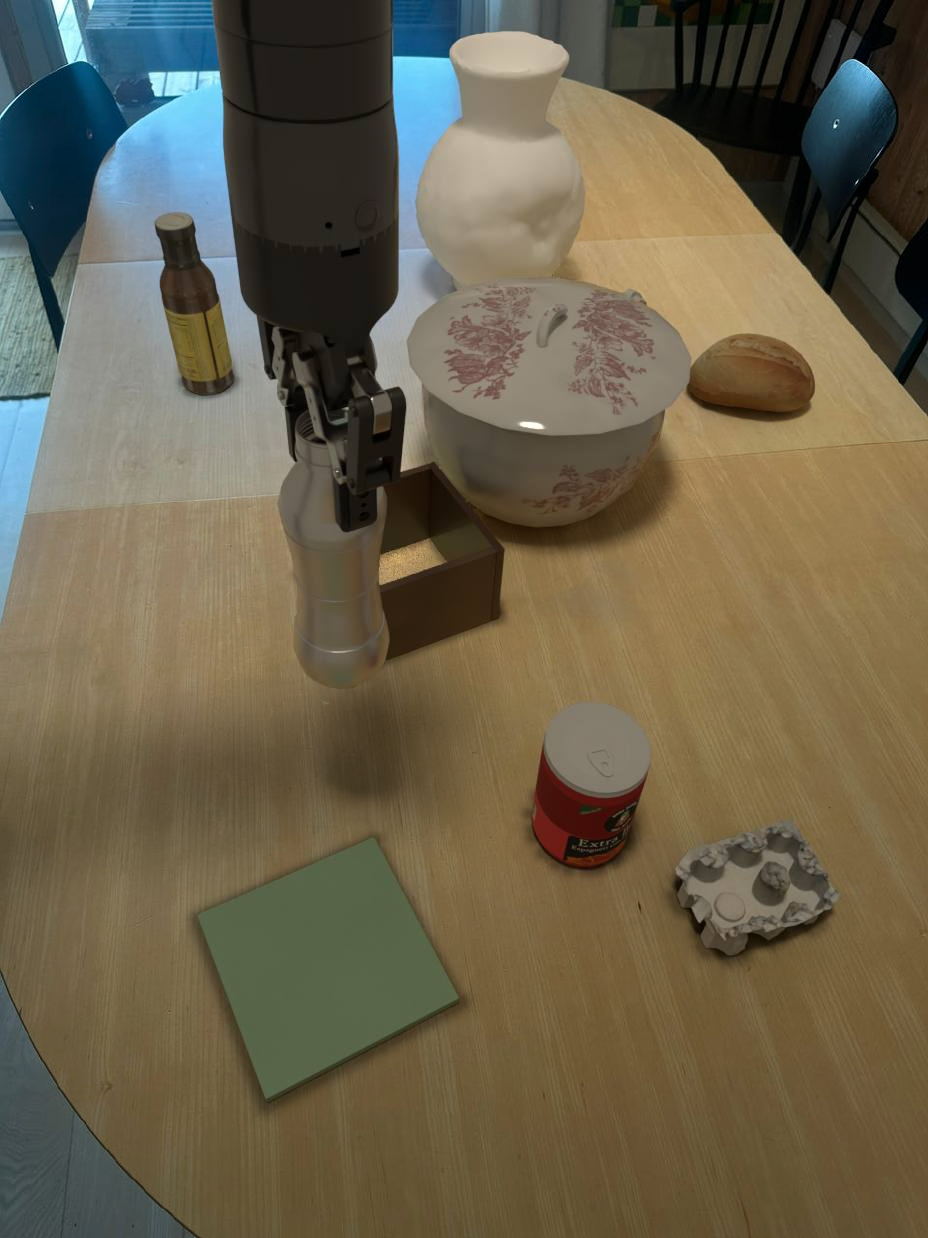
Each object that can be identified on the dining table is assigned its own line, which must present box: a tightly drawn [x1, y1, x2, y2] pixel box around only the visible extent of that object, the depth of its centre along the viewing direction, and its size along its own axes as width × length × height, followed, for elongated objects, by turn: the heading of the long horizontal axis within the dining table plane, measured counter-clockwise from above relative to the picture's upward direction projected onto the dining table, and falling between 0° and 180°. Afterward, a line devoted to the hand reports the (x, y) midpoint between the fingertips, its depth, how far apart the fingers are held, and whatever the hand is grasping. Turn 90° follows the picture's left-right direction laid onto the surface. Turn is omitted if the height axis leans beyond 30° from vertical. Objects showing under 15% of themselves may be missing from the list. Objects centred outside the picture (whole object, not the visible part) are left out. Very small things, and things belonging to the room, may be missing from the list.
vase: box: [414, 30, 586, 291], centre depth 122 cm, size 19×21×30 cm
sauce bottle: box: [154, 211, 234, 396], centre depth 108 cm, size 6×6×20 cm
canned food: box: [531, 701, 652, 868], centre depth 73 cm, size 8×8×11 cm
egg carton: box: [674, 818, 842, 956], centre depth 72 cm, size 11×8×4 cm
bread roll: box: [687, 332, 816, 413], centre depth 114 cm, size 10×15×8 cm, turn 80°
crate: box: [379, 461, 506, 661], centre depth 90 cm, size 15×14×9 cm
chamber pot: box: [406, 276, 692, 529], centre depth 98 cm, size 28×28×21 cm
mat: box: [196, 836, 460, 1104], centre depth 68 cm, size 14×14×1 cm
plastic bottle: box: [277, 408, 389, 690], centre depth 60 cm, size 6×7×20 cm
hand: (332, 489), depth 56 cm, fingers closed on plastic bottle, 6 cm apart
